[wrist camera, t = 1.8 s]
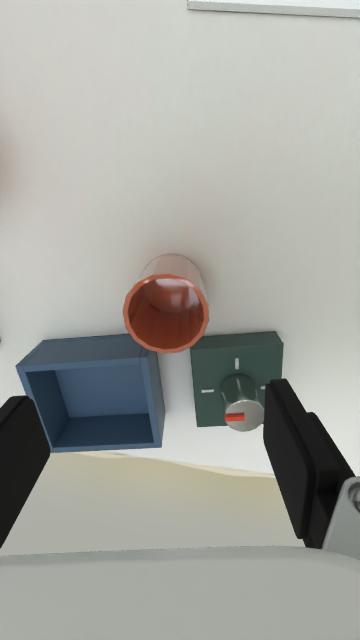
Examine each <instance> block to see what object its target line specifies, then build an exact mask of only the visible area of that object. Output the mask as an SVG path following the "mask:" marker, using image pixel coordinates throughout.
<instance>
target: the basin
mask: <svg viewBox="0 0 360 640" xmlns="http://www.w3.org/2000/svg"><path fill="white" fill-rule="evenodd" d="M16 369H17V372H18V374H19V377H20V380H21V382H22V385H23V388H24V390H25V393H26V396H28V397H29V398H30V399H32V400H33V401H34V403H35V406H36V409H37V412H38V414H39V417H40V420H41V423H42V426H43V429H44V431H45V434H46V437H47V440H48V443H49V445H50V450H51V452H50V453H54V452H55V453H57V452H58V453H60V452H80V451H101V450H121V449H141V448H161V447H162V438H163V429H164V419H165V408H164V401H163V394H162V387H161V380H160V373H159V366H158V359H157V352H155V351H152V350H148V349H146V348H145V347H143V346H142V345H141V344H139V343H138V342H136V341H135V340H134V339H133V337H132V336H131V334H123V335H109V336H95V337H82V338H68V339H55V340H43V341H42V342H41V343H40V344H39V345H37V346H36V347H35V348H34V349H33V350H32V351H31V352H30V353H29V354H28V355H27V356H26V357H25V358H24V359H22V360H21V361H20V362H19V363H18V364H17V365H16Z"/></svg>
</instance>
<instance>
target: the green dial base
mask: <svg viewBox="0 0 360 640" xmlns="http://www.w3.org/2000/svg"><path fill="white" fill-rule="evenodd" d="M190 353H191V364H192V376H193V387H194V398H195V410H196V421H197V427H209V426H228V425H227V423H226V421H225V417H224V412H223V406H222V400H221V395H220V386H221V384H222V382H223V381H224V380H225V379H226V378H227V377H229V376H232V375H236V374H241V375H245V376H247V377H249V378H250V379H251V380H252V381H253V382H254V385H255V387H256V390H257V393H258V395H259V398H260V401H261V403H262V406H263V409H264V404H265V385H266V384H269V383H270V380H272V379H281V376H282V359H283V342H282V341H281V339H280V338H279V336H278V335H277V333H276V332H261V333H247V334H233V335H220V336H206V337H201V338H200V339H199V340H198V341H197V342H196V343H195V344H194V345H193V346H191V347H190ZM261 424H264V420H263V422H262V423H261Z"/></svg>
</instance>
